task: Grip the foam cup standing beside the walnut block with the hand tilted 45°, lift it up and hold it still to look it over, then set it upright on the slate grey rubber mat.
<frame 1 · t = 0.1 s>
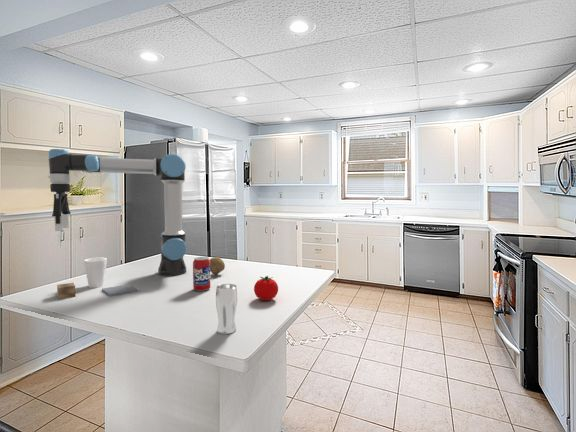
hand: (62, 229, 155), 28 cm above the table, tool pointing down, fingers open, 13 cm apart
natural sponge: (216, 275, 185), on the table
walnut block: (66, 296, 146), on the table
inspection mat: (120, 290, 154), on the table
foam cup: (96, 286, 161), on the table
tomato: (266, 300, 143), on the table
soda can: (201, 289, 157), on the table
beer glass: (226, 331, 111), on the table
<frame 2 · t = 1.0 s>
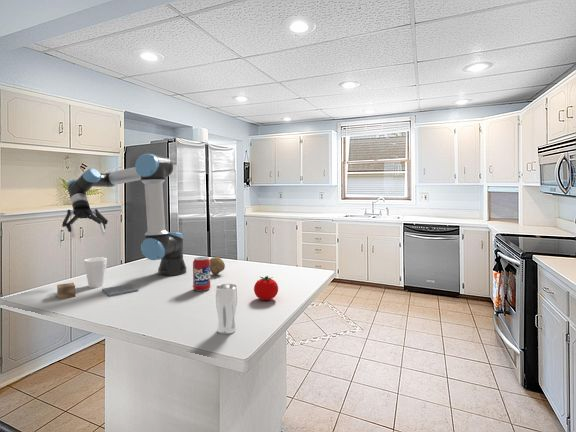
hand: (89, 235, 168), 24 cm above the table, tool tilted 45°, fingers open, 13 cm apart
nothing on the table moved.
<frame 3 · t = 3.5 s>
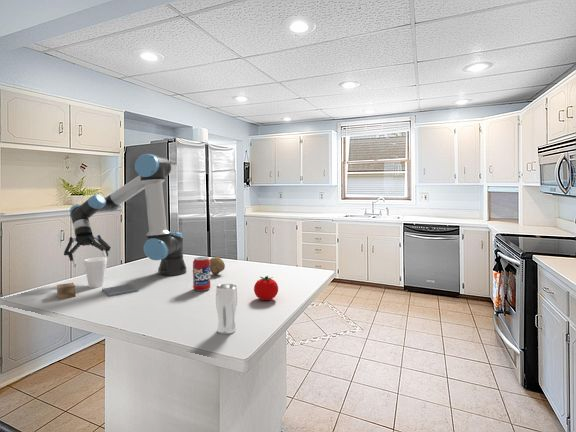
hand: (91, 263, 164), 10 cm above the table, tool tilted 45°, fingers open, 13 cm apart
nothing on the table moved.
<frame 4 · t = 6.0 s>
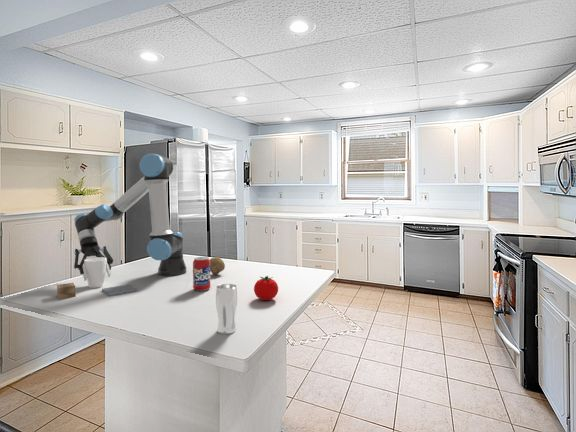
hand: (97, 277, 159), 5 cm above the table, tool tilted 45°, fingers closed on foam cup, 9 cm apart
foam cup: (96, 286, 161), on the table, touching gripper
everything else where it was.
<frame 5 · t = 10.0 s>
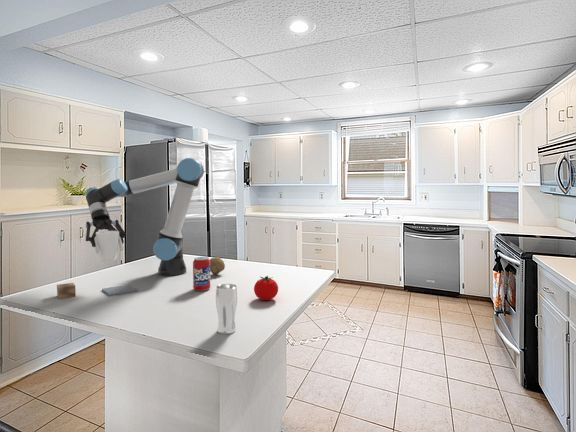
hand: (110, 250, 152), 19 cm above the table, tool tilted 45°, fingers closed on foam cup, 9 cm apart
foam cup: (108, 260, 155), point 14 cm above the table, touching gripper
everything else where it was.
when the fingers open (7 cm above the table, at t = 14.0 s): foam cup drops 1 cm, resting on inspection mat.
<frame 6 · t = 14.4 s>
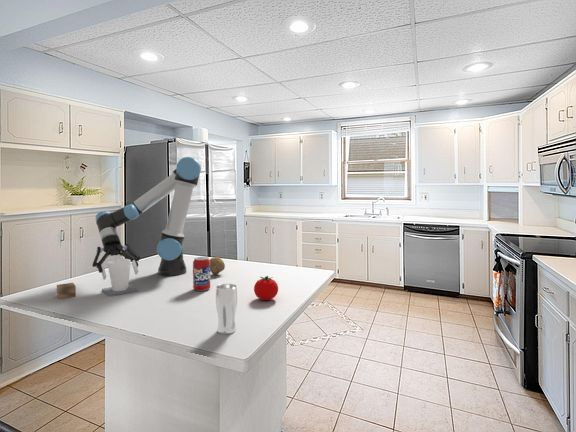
hand: (121, 275, 152), 8 cm above the table, tool tilted 45°, fingers open, 13 cm apart
foam cup: (120, 289, 154), point 1 cm above the table, touching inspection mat
everything else where it was.
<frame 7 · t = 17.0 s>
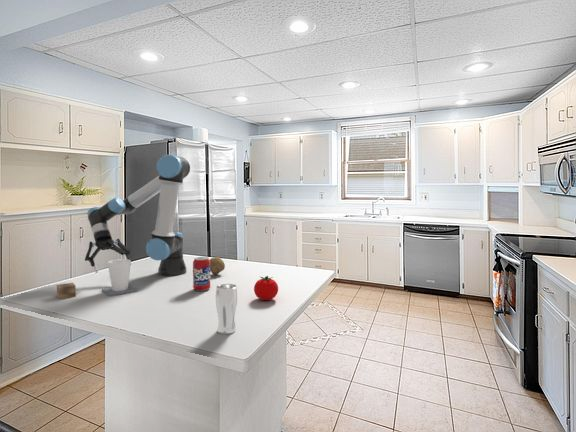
hand: (112, 268, 162), 8 cm above the table, tool tilted 45°, fingers open, 13 cm apart
nothing on the table moved.
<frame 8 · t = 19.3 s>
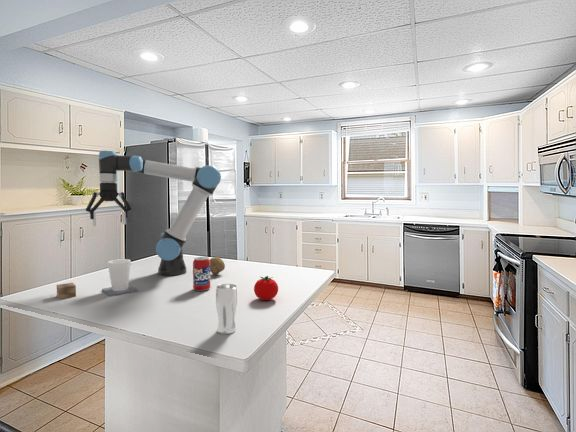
hand: (109, 225, 167), 29 cm above the table, tool pointing down, fingers open, 13 cm apart
nothing on the table moved.
at the end: foam cup inside the target area on the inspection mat (0.1 cm from its centre), point 0.6 cm above the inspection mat's base; foam cup tilted 0°; the gripper is holding nothing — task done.
